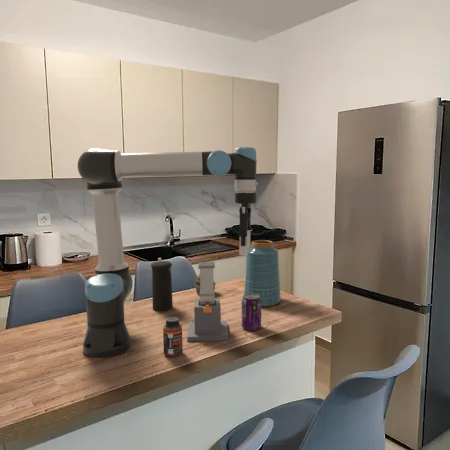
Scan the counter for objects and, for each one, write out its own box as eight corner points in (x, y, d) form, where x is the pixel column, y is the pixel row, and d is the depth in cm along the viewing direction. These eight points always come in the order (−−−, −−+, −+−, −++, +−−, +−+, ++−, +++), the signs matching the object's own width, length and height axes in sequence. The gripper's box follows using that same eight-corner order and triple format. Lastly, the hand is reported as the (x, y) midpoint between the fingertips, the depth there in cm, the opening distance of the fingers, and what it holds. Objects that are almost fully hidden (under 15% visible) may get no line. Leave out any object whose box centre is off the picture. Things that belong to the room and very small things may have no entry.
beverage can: (260, 332, 144) (259, 299, 143) (240, 330, 146) (240, 298, 144) (262, 324, 151) (262, 293, 150) (243, 323, 152) (243, 292, 151)
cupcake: (193, 296, 187) (192, 275, 186) (197, 290, 196) (197, 270, 195) (213, 297, 185) (213, 275, 184) (217, 291, 195) (217, 270, 194)
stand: (187, 341, 137) (186, 307, 136) (189, 325, 151) (188, 294, 149) (228, 340, 138) (228, 306, 136) (226, 324, 152) (226, 293, 150)
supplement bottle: (174, 359, 124) (173, 323, 122) (159, 355, 127) (158, 320, 126) (186, 352, 129) (185, 317, 127) (172, 347, 132) (170, 314, 131)
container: (177, 306, 173) (176, 260, 170) (163, 313, 165) (161, 265, 163) (162, 303, 177) (160, 258, 175) (147, 309, 170) (145, 262, 167)
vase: (283, 307, 170) (283, 244, 166) (244, 308, 170) (243, 245, 167) (278, 295, 186) (278, 238, 183) (243, 296, 186) (242, 238, 183)
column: (199, 330, 141) (198, 265, 138) (200, 324, 147) (198, 262, 144) (215, 330, 141) (214, 265, 138) (215, 324, 147) (214, 261, 144)
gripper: (253, 193, 130) (253, 258, 133) (258, 190, 154) (257, 245, 157) (230, 193, 131) (230, 258, 134) (238, 190, 155) (238, 244, 158)
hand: (245, 251), depth 145 cm, fingers open, 13 cm apart
